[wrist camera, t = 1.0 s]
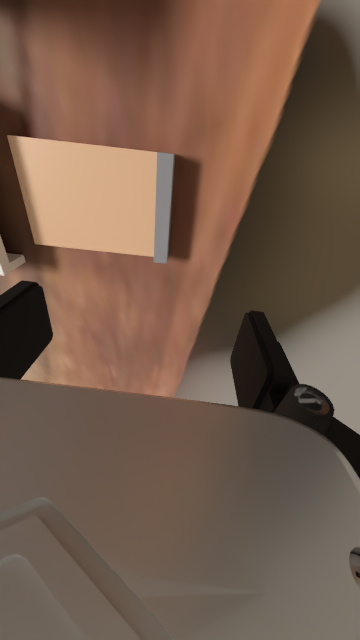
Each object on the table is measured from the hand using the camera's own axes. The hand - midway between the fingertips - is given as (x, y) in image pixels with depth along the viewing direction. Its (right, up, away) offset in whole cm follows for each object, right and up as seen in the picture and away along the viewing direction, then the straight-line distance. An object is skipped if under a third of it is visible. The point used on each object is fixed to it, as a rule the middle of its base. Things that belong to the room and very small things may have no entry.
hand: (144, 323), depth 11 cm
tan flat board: (-8, +14, +17) cm, 23 cm away
